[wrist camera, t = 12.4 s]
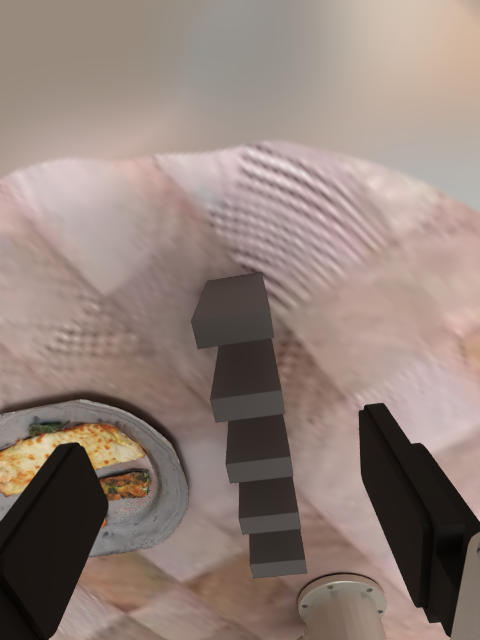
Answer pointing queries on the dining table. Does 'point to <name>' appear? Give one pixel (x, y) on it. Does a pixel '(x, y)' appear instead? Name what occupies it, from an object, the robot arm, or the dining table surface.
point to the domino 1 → (232, 312)
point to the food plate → (99, 467)
